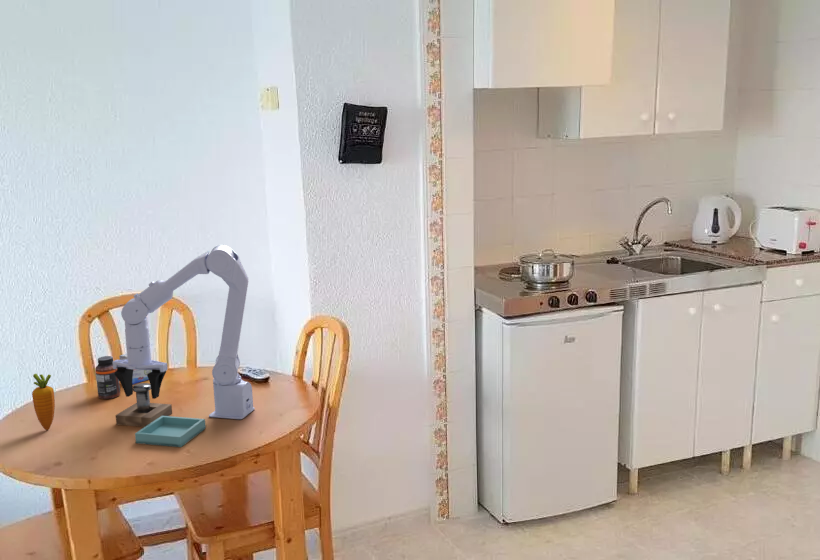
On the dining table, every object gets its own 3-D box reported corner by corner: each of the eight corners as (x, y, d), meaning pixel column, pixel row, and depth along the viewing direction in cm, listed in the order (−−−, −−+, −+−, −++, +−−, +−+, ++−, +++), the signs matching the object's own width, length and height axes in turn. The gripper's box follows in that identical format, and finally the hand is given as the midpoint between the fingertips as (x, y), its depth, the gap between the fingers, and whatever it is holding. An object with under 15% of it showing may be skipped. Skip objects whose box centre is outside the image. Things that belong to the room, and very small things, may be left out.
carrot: (62, 427, 203) (56, 370, 200) (48, 434, 199) (42, 376, 196) (45, 426, 205) (39, 369, 202) (32, 433, 200) (25, 375, 197)
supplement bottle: (113, 391, 230) (109, 353, 228) (124, 395, 227) (121, 356, 224) (94, 397, 226) (90, 358, 224) (105, 401, 222) (101, 362, 220)
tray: (205, 428, 201) (204, 418, 200) (180, 447, 189) (180, 437, 189) (162, 425, 204) (161, 415, 203) (135, 443, 192) (134, 433, 192)
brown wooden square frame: (172, 413, 212) (171, 404, 211) (151, 427, 202) (150, 417, 202) (138, 410, 214) (137, 401, 214) (116, 424, 205) (115, 415, 204)
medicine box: (130, 385, 235) (127, 357, 234) (121, 383, 238) (118, 354, 236) (153, 378, 241) (150, 350, 240) (144, 376, 244) (142, 348, 242)
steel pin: (157, 416, 210) (154, 383, 208) (147, 422, 205) (144, 389, 204) (142, 415, 211) (139, 382, 209) (132, 421, 207) (129, 388, 205)
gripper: (103, 348, 202) (108, 399, 205) (155, 351, 199) (159, 403, 201) (120, 341, 209) (124, 390, 212) (170, 343, 205) (173, 394, 208)
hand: (142, 396), depth 207 cm, fingers open, 7 cm apart
